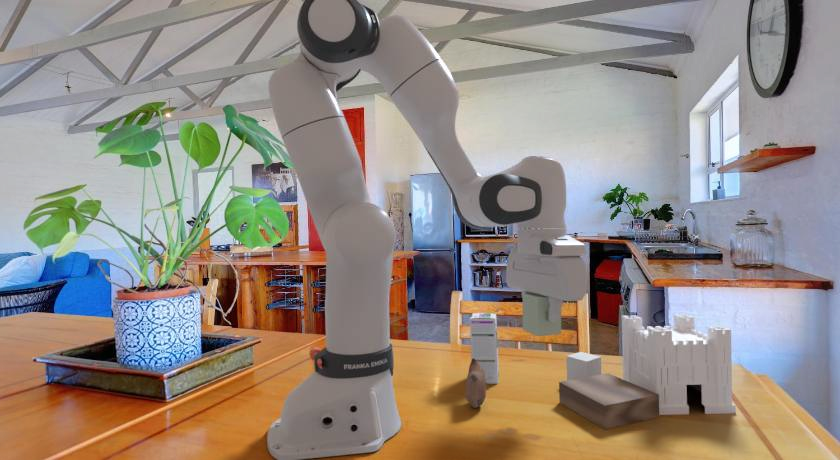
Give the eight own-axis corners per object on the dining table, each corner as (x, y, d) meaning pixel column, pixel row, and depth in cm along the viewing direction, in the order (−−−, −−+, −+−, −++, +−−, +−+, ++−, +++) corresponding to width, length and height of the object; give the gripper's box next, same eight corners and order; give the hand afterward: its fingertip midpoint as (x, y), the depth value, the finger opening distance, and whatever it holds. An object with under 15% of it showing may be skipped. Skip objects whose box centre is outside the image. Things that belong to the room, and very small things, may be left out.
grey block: (587, 390, 90) (586, 361, 90) (567, 383, 94) (566, 355, 94) (601, 384, 93) (601, 356, 93) (581, 378, 97) (580, 351, 97)
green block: (538, 336, 79) (538, 297, 79) (522, 330, 83) (522, 293, 83) (561, 334, 80) (561, 296, 80) (544, 328, 85) (544, 292, 85)
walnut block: (605, 429, 73) (604, 405, 73) (559, 402, 84) (559, 381, 84) (659, 417, 77) (658, 394, 77) (608, 393, 88) (608, 373, 88)
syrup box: (498, 384, 95) (496, 317, 94) (471, 383, 96) (469, 317, 96) (498, 375, 100) (497, 312, 100) (473, 374, 101) (471, 312, 101)
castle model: (687, 384, 92) (686, 313, 92) (735, 413, 78) (734, 330, 78) (620, 385, 92) (619, 315, 92) (656, 415, 78) (654, 331, 78)
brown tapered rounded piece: (465, 394, 90) (464, 355, 89) (484, 394, 89) (484, 355, 89) (465, 413, 81) (464, 370, 81) (487, 413, 80) (486, 370, 80)
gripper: (498, 242, 90) (498, 309, 90) (562, 246, 71) (561, 331, 71) (524, 242, 93) (524, 307, 93) (593, 246, 73) (593, 328, 73)
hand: (541, 318), depth 82 cm, fingers closed on green block, 5 cm apart
